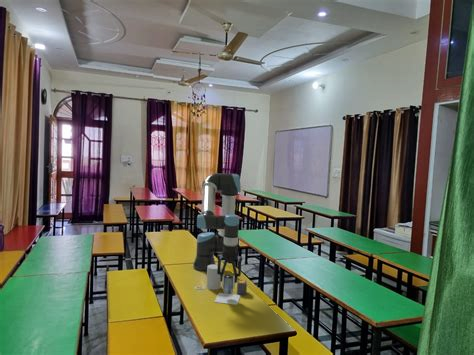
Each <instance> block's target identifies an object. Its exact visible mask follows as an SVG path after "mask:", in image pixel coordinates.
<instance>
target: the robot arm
mask: <svg viewBox="0 0 474 355" xmlns="http://www.w3.org/2000/svg"><path fill="white" fill-rule="evenodd" d="M241 189H242V188H241V179H240V175H239V174H237V173H225V172H223V173H222V172H221V173H218V172H215V173H212V174H210V175H208V176H207V177H206V178H205V179H204V180H203V181H202V183H201V191H202V197H201V198H202V200H201V214H197V217H196V227H197V228H198V229H201V230H202V229H203V230H219V231H218V232H217V234H216V233H215V232H214V231H213V232H210V231H208V232H207V231H206V232H201V233H199V234H198V235H197V239H196V256H195V259H194V261H193V266H192V268H193V269H194V270H196V271H200V272H207V266H208V265H212V264H215V265H218V268H217V274H219V275H220V276H221V278H220V281H221V289H222V290H224V276H225V275H226V274H225V269H226V267H227V264H228V263H231V265H232V271H233V291H234V290H235V289H236V287H235V286H236V284H237V281H238V277H241V275H242V261H243V256H239V254H238V251H239V250H238V248H239V246H238V244H239V230H240V229H239V226H240V217H239V215H237V214H235V212H236V210H235V209H236V198H237V196H239V193H241V191H242V190H241ZM217 192H220V193H219V194H220V196H222V198H221V201H222V202H221V215H216V214H215V212H216V211H215V210H216V209H215V207H216V193H217ZM216 253H217V256H216V258H217V264H216V261H215V260H216V259H215V257H214V256H215V255H214V254H216ZM222 259H224V262H223V265H222ZM236 260H237V261H238V267H237V266H236V264H237V263H236ZM221 266H222V270H221V272H220V269H221ZM237 268H238V269H237Z"/></svg>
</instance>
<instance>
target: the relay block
mask: <svg viewBox="0 0 474 355" xmlns="http://www.w3.org/2000/svg"><path fill="white" fill-rule="evenodd" d="M247 283H248V282H247V280H237V283H236V295H241V296H247Z"/></svg>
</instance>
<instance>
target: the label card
mask: <svg viewBox="0 0 474 355" xmlns="http://www.w3.org/2000/svg"><path fill="white" fill-rule="evenodd" d="M204 289H205V287H204V286H203V287H202V286H195V287H194V290H201V291H202V290H204Z"/></svg>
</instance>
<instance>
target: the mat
mask: <svg viewBox="0 0 474 355" xmlns="http://www.w3.org/2000/svg"><path fill="white" fill-rule="evenodd" d="M241 296H242V295H237V294H233V293H231V294H226V293H224V292H218V294H217V296H216V297H215V300H214V301H213V302H214V303H216V304H226V305H235V306H238V304H239V302H240V298H241Z"/></svg>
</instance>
